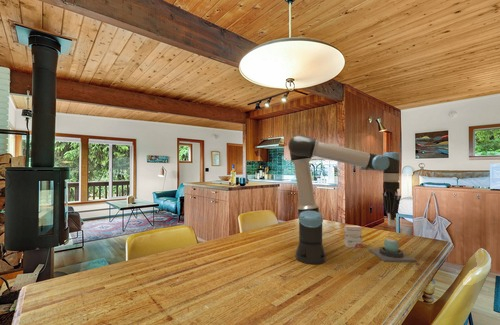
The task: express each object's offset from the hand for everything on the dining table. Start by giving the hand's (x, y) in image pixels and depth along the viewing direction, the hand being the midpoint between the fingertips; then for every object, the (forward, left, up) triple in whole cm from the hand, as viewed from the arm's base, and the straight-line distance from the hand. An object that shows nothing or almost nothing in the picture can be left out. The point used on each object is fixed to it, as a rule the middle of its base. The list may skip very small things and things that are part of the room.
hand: (391, 225), depth 130 cm
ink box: (-14, +15, -16) cm, 26 cm away
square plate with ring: (0, 0, -16) cm, 16 cm away
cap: (0, 0, -15) cm, 15 cm away
